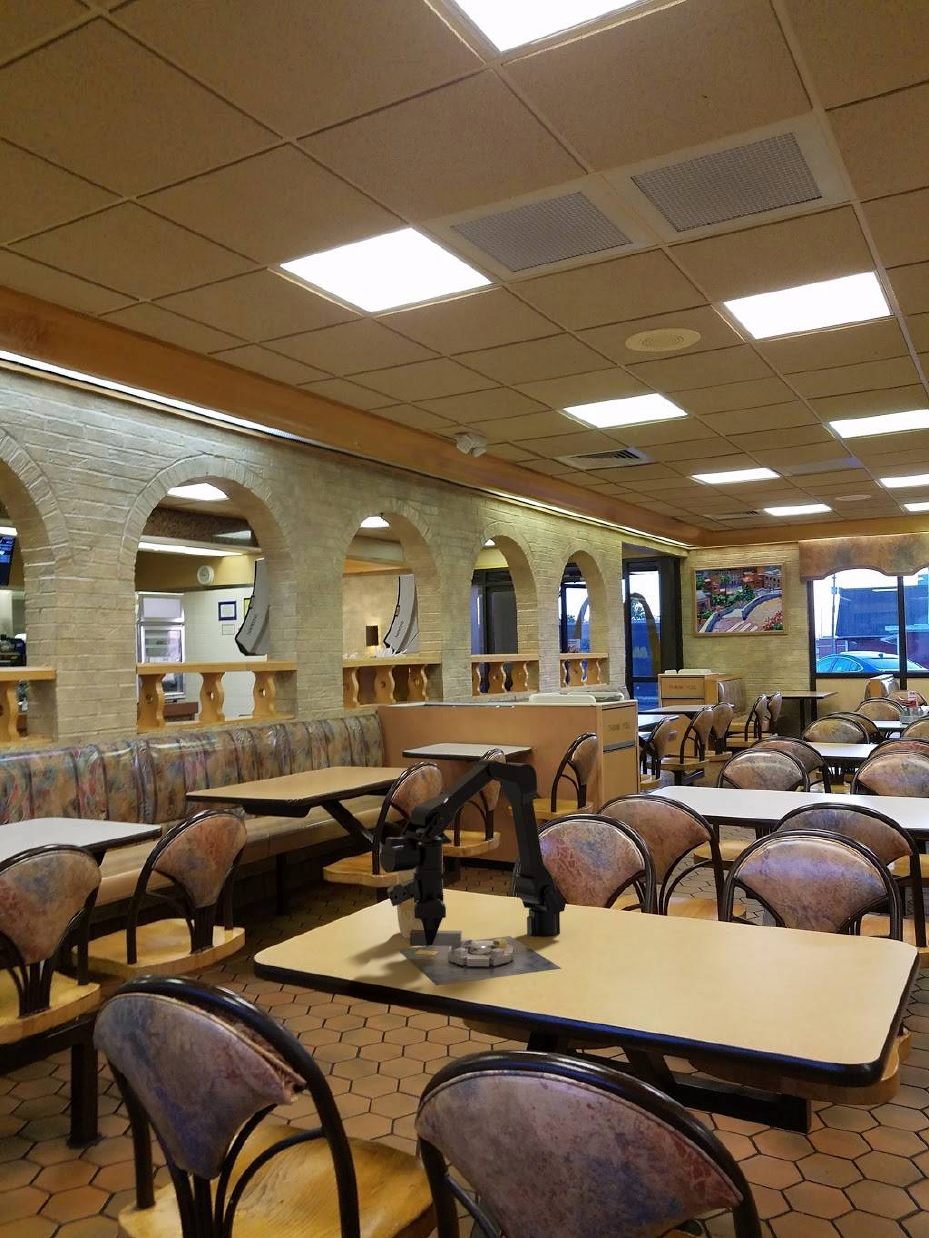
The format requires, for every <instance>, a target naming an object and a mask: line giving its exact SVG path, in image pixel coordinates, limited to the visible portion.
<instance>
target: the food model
mask: <svg viewBox="0 0 929 1238" xmlns="http://www.w3.org/2000/svg"><path fill="white" fill-rule="evenodd" d="M414 872H415V868H414V869H413V870H406V871H399V872H396V885H397V884H399V883H402V882H404V881H407V880H410V879H413V878H414ZM416 903H417V902H416ZM416 903H414V897H413V898H411V899H409V900H406V901H404V902H401V903H399V905H396V906H397V907H396V908H397V909H396V910H397V911H396V912H397V920H398V927H399V931H400V932H399V933H400V934H401V935H402V937H403V938H406V939H410V932H411V930H424V928H423V923H422V920H421V919H416V918H414V905H415V904H416Z"/></svg>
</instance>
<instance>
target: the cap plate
mask: <svg viewBox="0 0 929 1238" xmlns="http://www.w3.org/2000/svg"><path fill="white" fill-rule="evenodd" d="M499 938H502V939H505V940H507V944H508V945H511V946H512V947H514V955H513V960H510V962H506V963H502V964H499V965H495V966H493V965H489V966H467V964H466V965H460V964H457V963H454V962H452V961H449V959H448V950H449V948H450V946H414V947H409V948H407V947H406V948H401V949H400V948H399V949H398V948H397V951H398V952H399V953H400V954H402V956H404V957H405V958H406V959H407V960H408V961H409V962H410V963H411V964H412V965H414V967H416V968H417V969H418V970H419V971H420V972H421V973H422V974H424V975H425V976H426V978H428V979H429V980H430V981H431V982H432V983H433V984H434V985H435V986H441V985H442V986H443V985H449V984H457V983H465V982H472V981H479V980H480V981H481V980H487V979H492V978H493V979H494V978H501V977H502V978H503V977H510V976H516V975H523V974H524V975H525V974H531V973H539V972H546V971H552V970H553V971H555V970H562V967H560V966H559V965H558V964H556V963H554V962H552V961H551V960H549V959H548V958H546V957H544V956H543V955H541V954H540V953H538V952H537V951H535V950H533V949H532V948H530V947H528V946H526V944H523V943H522V942H520V941H519V940H517V939H516V938H514V937H512V936H511V935H509V936H508V935H507V936H506V935H505V936H499V937H492V938H491V937H490V938H484V939H483V938H482V939H474V940H472V942H473V941H493V940H495V939H499ZM490 950H492V947H491V945H490V944H486V943H476V944H472V945H470V953H468V954H470V955H489V954H490Z"/></svg>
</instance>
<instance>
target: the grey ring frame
mask: <svg viewBox="0 0 929 1238" xmlns="http://www.w3.org/2000/svg"><path fill="white" fill-rule="evenodd" d="M462 932H463V930H439V929H438V931H437V934H436V936H435V939H434V942H433V944H432V945H427V943H426V938H425V933H424V930H411V932H410V938H409V946H410V947H423V946H450V948H449V950H448V959H449V961H452V962H454V963H457V964H460V965H466V964H467V966H489V965H493V966H495V965H499V964H502V963H506V962H510V960H513V955H514V947H512V946H511V945H508V944H507V940H505V939H502V938H499V939H495V940H493V941H473V940H472V939H471V938H467V937H463V933H462ZM472 941H473V942H472ZM476 943H486V944H490V945H491V947H492V950H490V954H489V955H470V954H468V953H470V945H472V944H476Z"/></svg>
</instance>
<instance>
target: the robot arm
mask: <svg viewBox="0 0 929 1238" xmlns="http://www.w3.org/2000/svg"><path fill="white" fill-rule="evenodd" d="M492 781H496V782H499V785H500V789H501V790H502V791H501V792H502V793H503V795H504V797H505V798H506V799H507V801H508V802H509V803H510V806H511V812H512V817H513V823H514V829H515V835H516V841H517V846H518V847H517V848H518V854H519V859H520V864H521V867H520V870H519V872H518V874H517V875H514V876H513V880H514V884H515V894H518V897H519V899H520V900H521V902H522V905H523V908H525V909H528V916H527V917H526V932H527V933H526V934H527V935H528V936H529V937H532V938H533V937H536V938H537V937H539V938H540V937H543V938H544V937H545V938H546V937H547V938H548V937H550V938H551V937H555V936H557V935H560V934H561V922H560V921H561V917H560V916H561V915H560V914H561V913H562V912H563V913H564V912H565V908H566V904H567V901H566V899H564V897H562V895H561V894H560V893H559V892H558V891H557V887H556V885H555V882H554V878H553V875H552V874H551V873H550V872H551V871H549V870H548V867H546V865H545V863H544V858H543V853H542V852H543V851H542V848H541V842H540V837H539V829H538V823H537V817H536V811H535V807H534V800H535V796H536V793H537V791H538V775H537V771H536V769H535V767H533V766H532V765H531V764H528V763H519V762H509V761H508V762H506V763H504V762H500V761H498V760H495V759H487V758H486V759H485V758H482V759H481V760H478V761H477V762H476V764H475V765H474V766H473V767H472V768H471V769H470V770H469V771H467V772H466V773H465V774H464V775H462V776H461V777H460V778H459V779H457V781H456V782H454V783H453V784H452V785H451V786H449V787H448V788H447V789H446V790H445V791H443V792H442V793H441V794H439V795H436V796H434V797H432V798H427V800H424V801H423V802H421V803H419V804H417V805H415V807H413V809H412V810H411V812H410V814H411V815H410V818H409V819H408V821H407V822H406V824H405V826H404V827H403V830H402V831H401V833H400V835H399V837H391V836H390V837H386V838H385V843H384V844H383V846H382V847H381V850H380V853H379V862H380V865H381V868H382V870H383V872H385V873H386V874H390V873H397V872H399V871H406V870H413V869H414V868H415V872H414V878H413V879H410V880H407V881H404V882H402V883H399V884H397V883H396V884H393V885H391V886H390V887H388V888H387V891H386V892H387V894H388V897H389V900H390V903H391V906H392V907H395V906H397V905H399V903H401V902H404V901H406V900H409V899H411V898H413V897H414V903H416V902H417V903H416V904H415V905H414V918H416V919H421V920H422V923H423V928H424V933H425V938H426V943H427V945H432V944H433V942H434V939H435V936H436V934H437V931H438V930H439V928H440V926H441V923H442V922H443V921H442V920H443V919H444V918H447V913H446V911H447V910H446V909H447V908H446V903H444V861H443V859H444V855H443V854H444V853H443V852H444V851H443V849H444V847H443V845H448V844H451V843H452V839H451V838H449V837H448V836H447V835H446V833H445V831H446V830H447V829H448V827H449V826H450V825H451V824H452V823H453V821H454V819H455V816H456V814H457V813H458V811H459V809H461V808H462V807H463V806H464V805H466V803H467V802H469V801H470V800H471V799H473V797H474V796H475V795H477V794H478V793H479V792H480V791H482V790H483V789H484V788H485V787H486V786H487V785H489V783H491V782H492Z"/></svg>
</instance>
